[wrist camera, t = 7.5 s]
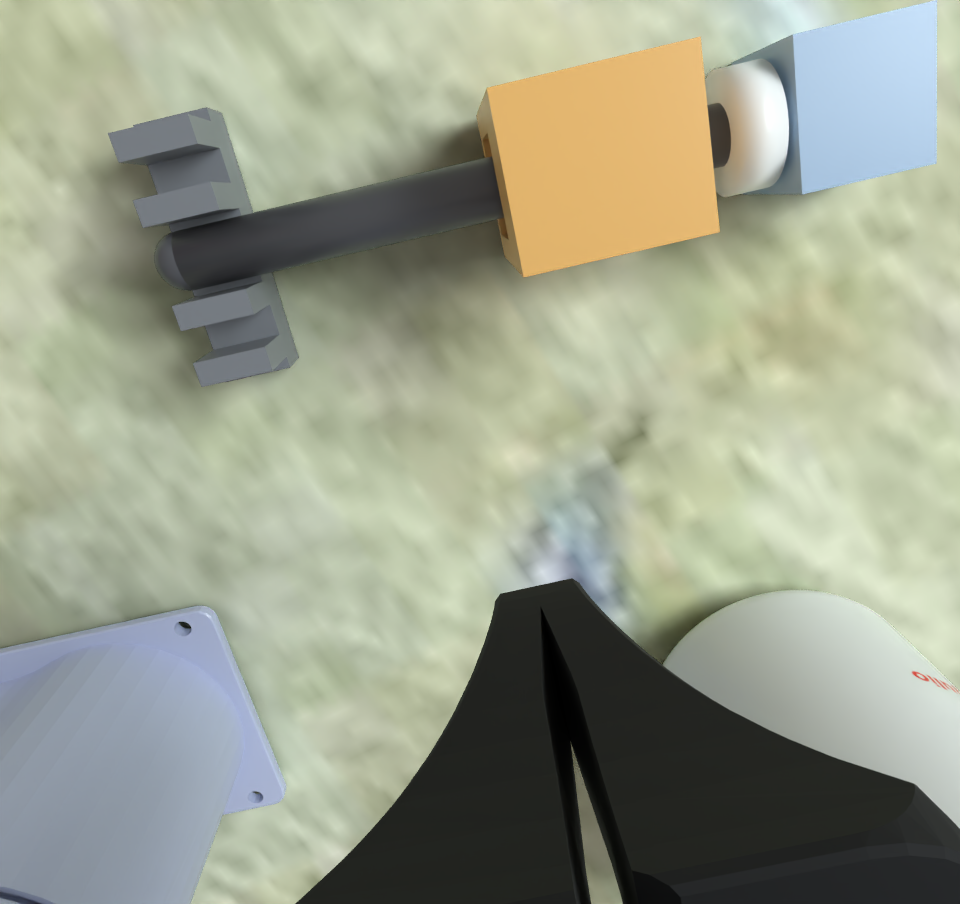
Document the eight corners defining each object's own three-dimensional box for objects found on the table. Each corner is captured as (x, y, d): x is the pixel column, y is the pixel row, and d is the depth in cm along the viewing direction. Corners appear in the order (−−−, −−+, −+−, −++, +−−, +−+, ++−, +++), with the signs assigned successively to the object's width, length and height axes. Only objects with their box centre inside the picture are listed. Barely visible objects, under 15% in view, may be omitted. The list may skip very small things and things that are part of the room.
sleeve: (504, 256, 19) (523, 277, 14) (476, 116, 18) (487, 88, 13) (651, 222, 19) (719, 232, 14) (633, 78, 18) (700, 37, 13)
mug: (584, 707, 25) (686, 1084, 14) (768, 521, 23) (1046, 804, 12) (817, 857, 28) (1043, 1261, 17) (999, 705, 25) (1385, 1062, 15)
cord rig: (226, 374, 20) (185, 408, 17) (141, 132, 18) (75, 118, 15) (856, 229, 20) (936, 236, 16) (847, -39, 17) (937, -92, 14)
